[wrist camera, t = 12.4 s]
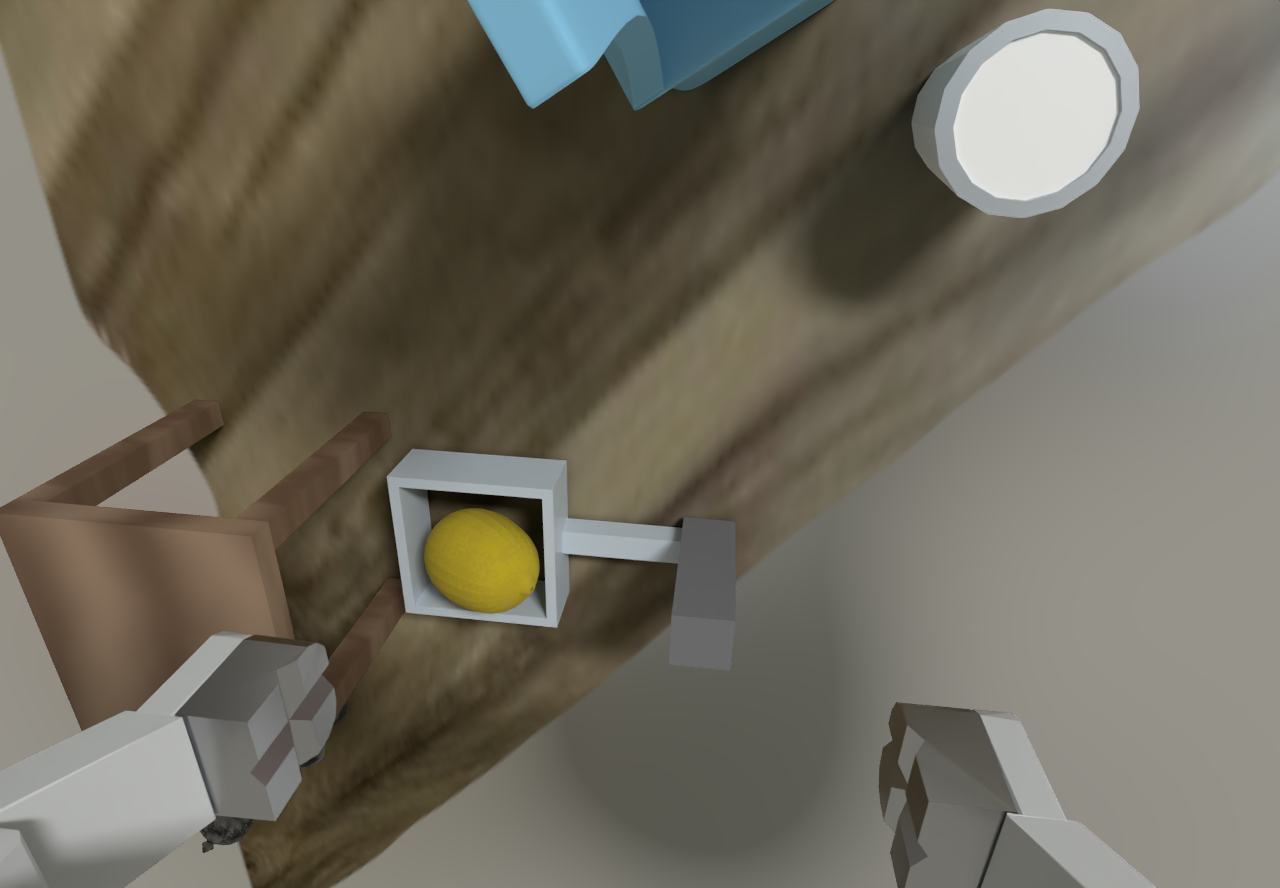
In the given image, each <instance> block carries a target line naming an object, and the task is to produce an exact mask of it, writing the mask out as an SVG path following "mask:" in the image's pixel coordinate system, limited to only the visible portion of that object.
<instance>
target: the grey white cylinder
mask: <svg viewBox="0 0 1280 888" xmlns="http://www.w3.org/2000/svg"><path fill="white" fill-rule="evenodd" d="M1138 111H1139V75H1138V66H1137V64H1136V62H1135V60H1134V58H1133V57H1132V55H1131V53H1130V51H1129V49H1128V47H1127V45H1126V43H1125V41H1124V39H1123V37H1122V35H1121V34H1120V33H1119V32H1117V31H1116V30H1114V29H1113V28H1111V27H1110V26H1108V25H1107V24H1105V23H1104V22H1102V21H1101V20H1099V19H1098V18H1096V17H1095V16H1093V15H1092V14H1090V13H1089V12H1078V11H1068V10H1057V9H1045V10H1042V11H1039V12H1036V13H1033V14H1030V15H1027V16H1024V17H1021V18H1017V19H1014V20H1011V21H1008V22H1005V23H1004V24H1002V25H1000V26H999V27H997V28H996V29H994V30H992V31H991V32H989V33H987V34H986V35H984V36H982V37H981V38H979V39H978V40H976V41H974V42H973V43H971V44H969V45H968V46H966V47H964V48H963V49H961V50H960V51H958V52H956V53H955V54H954V55H953V56H951V57H950V58H949V59H948V60H946V61H945V62H944V63H942V64H941V65H940V66H939V67H937V68H936V69H935V70H934V71H933V72H932V74H931V75H930V77H929V78H928V80H927V82H926V83H925V85H924V86H923V88H922V89H921V91H920V92H919V94H918V96H917V100H916V105H915V109H914V113H913V117H912V121H911V124H912V131H913V138H914V145H915V148H916V150H917V152H918V153H919V155H920V156H921V158H922V159H923V161H924V163H925V164H926V166H927V167H928V168H929V169H930V170H931V171H932V172H933V173H934V174H935V175H936V176H937V177H938V178H939V179H940V180H941V181H942V182H943V183H944V184H946V185H947V186H948V187H949V188H950V189H951V190H952V191H953V192H954V193H955V194H956V195H957V196H958V197H960V198H962V199H963V200H965V201H967V202H968V203H970V204H971V205H973V206H975V207H976V208H978V209H980V210H981V211H983V212H985V213H986V214H991V215H1000V216H1008V217H1017V218H1026V217H1030V216H1033V215H1037V214H1041V213H1045V212H1048V211H1052V210H1056V209H1060V208H1062V207H1064V206H1065V205H1067V204H1068V203H1070V202H1071V201H1073V200H1074V199H1076V198H1077V197H1079V196H1080V195H1082V194H1083V193H1085V192H1086V191H1088V190H1089V189H1091V188H1092V187H1094V186H1095V185H1097V184H1098V183H1099V181H1100V180H1101V179H1102V177H1103V176H1104V175H1105V174H1106V172H1107V171H1108V170H1109V169H1110V167H1111V166H1112V165H1113V164H1114V162H1115V161H1116V160H1117V159H1118V157H1119V156H1120V155H1121V154H1122V152H1123V151H1124V150H1125V147H1126V145H1127V142H1128V139H1129V136H1130V133H1131V131H1132V128H1133V125H1134V122H1135V120H1136V117H1137V114H1138Z"/></svg>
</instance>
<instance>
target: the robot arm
mask: <svg viewBox="0 0 1280 888" xmlns="http://www.w3.org/2000/svg"><path fill="white" fill-rule="evenodd" d="M328 665H329V661H328V657H327V654H326V650H325V646H323V645H321V644H319V643H316V642H309V641H301V640H294V639H286V638H278V637H271V636H263V635H249V634H241V633H234V632H227V631H222V632H219V633H217V634H214V635H212V636H211V637H210V638H209V639H208V640H207V641H206V642H205V643H204V644H203V645H202V646H201V647H200V648H199V649H198V650H197V651H196V652H195V653H194V654H193V655H192V656H191V657H190V658H189V659H188V660H187V661H186V662H185V663H184V664H183V665H182V666H181V667H180V668H179V669H178V670H177V671H176V672H175V673H174V674H173V675H172V676H171V677H170V678H169V679H168V680H167V681H166V682H165V683H164V684H163V685H162V686H161V687H160V688H159V689H158V690H157V691H156V692H155V693H154V694H153V695H152V696H151V697H150V698H149V699H148V700H147V701H146V702H145V703H144V704H143V705H142V706H141V707H140V708H139V709H138V710H137V711H136V712H135V711H124V712H122V713H119V714H117V715H115V716H113V717H111V718H109V719H107V720H105V721H103V722H101V723H98V724H96V725H94V726H92V727H90V728H88V729H86V730H84V731H82V732H80V733H77V734H76V735H73V736H71V737H69V738H67V739H65V740H63V741H61V742H59V743H56V744H55V745H52V746H50V747H48V748H46V749H44V750H42V751H40V752H38V753H36V754H33V755H31V756H29V757H27V758H25V759H23V760H21V761H19V762H16V763H14V764H12V765H10V766H8V767H6V768H4V769H2V770H0V888H124V887H125V886H127V885H128V884H129V883H131V882H132V881H133V880H135V879H136V878H137V877H139V876H140V875H141V874H143V873H144V872H145V871H147V870H148V869H149V868H151V867H152V866H153V865H155V864H156V863H157V862H159V861H160V860H162V859H163V858H164V857H165V856H167V855H168V854H169V853H171V852H172V851H174V850H175V849H176V848H178V847H179V846H180V845H181V844H183V843H184V842H185V841H187V840H188V839H190V838H191V837H192V836H194V835H195V834H196V833H198V832H199V831H200V830H202V829H203V828H204V827H206V826H207V825H208V824H210V823H211V822H212V821H214V820H215V819H216V816H215V815H218V816H228V817H238V818H248V819H259V820H269V821H276V819H277V818H278V816H279V815H280V813H281V812H282V810H283V808H284V807H285V805H286V804H287V802H288V801H289V799H290V798H291V796H292V795H293V793H294V791H295V790H296V788H297V787H298V785H299V784H300V782H301V781H302V776H301V769H300V765H302V764H303V763H305V762H306V761H308V760H310V759H311V758H313V757H314V756H316V755H317V754H319V753H320V751H321V749H322V748H323V746H324V744H325V743H326V741H327V739H328V738H329V736H330V733H331V729H332V726H333V723H334V720H335V717H336V701H337V700H336V695H335V690H334V687H333V686H332V685H331V684H330V683H329V682H328V681H327V679H326V678H325V677H324V676H323V675H322V673H323V672H324V670H325V669H326V668H327V666H328ZM889 728H890V732H891V736H892V741H891V742H890V743H888V744H887V745H886V746H884V747H883V750H882V755H881V760H880V765H879V795H880V804H881V809H882V815H883V820H884V822H885V823H886V824H887V825H888V826H889V827H890V828H891V829H892V831H893V832H894V833H895V835H894V839H893V843H892V847H891V851H890V854H891V859H892V863H893V868H894V873H895V877H896V882H897V887H898V888H1156V887H1155V886H1154V885H1153V884H1152V883H1151V882H1149V881H1148V880H1147V879H1146V878H1145V877H1144V876H1142V875H1141V874H1140V873H1139V872H1138V871H1137V870H1135V869H1134V868H1133V867H1132V866H1130V865H1129V864H1128V863H1127V862H1126V861H1125V860H1123V859H1122V858H1121V857H1120V856H1119V855H1118V854H1117V853H1115V852H1114V851H1113V850H1112V849H1111V848H1110V847H1108V846H1107V845H1106V844H1105V843H1104V842H1102V841H1101V840H1100V839H1099V838H1098V837H1097V836H1096V835H1094V834H1093V833H1092V832H1091V831H1090V830H1088V829H1087V828H1086V827H1085V826H1084V825H1083V824H1081V823H1080V822H1077V821H1070V820H1066V817H1065V815H1064V813H1063V811H1062V809H1061V807H1060V805H1059V802H1058V800H1057V798H1056V796H1055V794H1054V792H1053V790H1052V788H1051V786H1050V783H1049V781H1048V779H1047V777H1046V775H1045V773H1044V771H1043V769H1042V766H1041V764H1040V762H1039V760H1038V758H1037V756H1036V754H1035V752H1034V749H1033V747H1032V745H1031V743H1030V741H1029V739H1028V737H1027V734H1026V732H1025V731H1024V728H1023V726H1022V724H1021V722H1020V720H1019V718H1018V717H1017V716H1015V715H1014V714H1013V713H1009V712H999V711H988V710H976V709H973V710H970V709H962V708H952V707H941V706H930V705H919V704H910V703H899V702H896V703H895V705H894V707H893V708H892V711H891V716H890V719H889Z"/></svg>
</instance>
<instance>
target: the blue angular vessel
mask: <svg viewBox="0 0 1280 888" xmlns="http://www.w3.org/2000/svg"><path fill="white" fill-rule="evenodd" d="M832 1H834V0H467V2H468V3H469V5H470V7H471V8H472V10H473V12H474V14H475V15H476V17H477V19H478V21H479V22H480V24H481V26H482V28H483V29H484V31H485V33H486V34H487V36H488V38H489V40H490V41H491V43H492V45H493V47H494V48H495V50H496V52H497V53H498V55H499V57H500V59H501V60H502V62H503V64H504V66H505V67H506V69H507V71H508V73H509V74H510V76H511V78H512V79H513V81H514V83H515V85H516V86H517V88H518V90H519V92H520V93H521V95H522V97H523V98H524V100H525V102H526V104H527V105H528V106H530V107H531V108H533V109H534V108H535V107H537V106H538V105H540V104H541V103H543V102H544V101H546V100H547V99H549V98H550V97H552V96H553V95H555V94H556V93H557V92H559V91H560V90H562V89H563V88H565V87H566V86H568V85H569V84H571V83H572V82H573V81H575V80H576V79H578V78H579V77H581V76H582V75H584V74H585V73H587V72H588V71H589V70H590V69H592V68H593V67H594V65H595V64H596V63H597V62H598V60H599V59H600V57H601V56H602V55H603V53H604V55H605V57H606V59H607V61H608V63H609V64H610V66H611V68H612V70H613V72H614V74H615V76H616V78H617V80H618V81H619V83H620V85H621V87H622V89H623V91H624V93H625V95H626V96H627V98H628V100H629V102H630V104H631V106H632V108H633V110H640V109H641V108H643V107H644V106H646V105H647V104H649V103H650V102H652V101H654V100H655V99H657V98H658V97H660V96H661V95H663V94H664V93H666V92H667V91H669V90H670V89H672V88H674V89H677V90H681V91H687V90H692V89H694V88H696V87H699V86H700V85H702V84H704V83H706V82H708V81H709V80H711V79H712V78H714V77H716V76H717V75H719V74H720V73H722V72H723V71H725V70H727V69H728V68H730V67H731V66H733V65H734V64H736V63H738V62H739V61H741V60H742V59H744V58H745V57H747V56H748V55H750V54H752V53H753V52H755V51H756V50H758V49H759V48H761V47H762V46H764V45H766V44H767V43H769V42H770V41H772V40H773V39H775V38H777V37H778V36H780V35H781V34H783V33H784V32H786V31H787V30H789V29H791V28H792V27H794V26H795V25H797V24H798V23H800V22H802V21H803V20H805V19H806V18H808V17H809V16H811V15H812V14H814V13H816V12H817V11H819V10H820V9H822V8H823V7H825V6H826V5H828V4H829V3H831V2H832Z"/></svg>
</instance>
